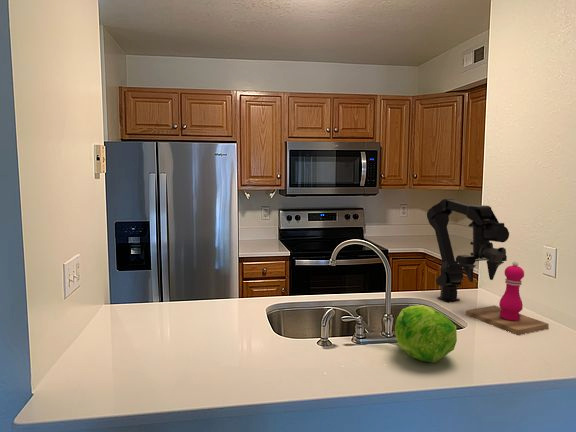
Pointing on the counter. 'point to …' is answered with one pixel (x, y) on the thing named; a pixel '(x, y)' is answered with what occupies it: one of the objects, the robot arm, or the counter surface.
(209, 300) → the counter surface
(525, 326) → the walnut board
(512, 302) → the pepper mill
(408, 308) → the lettuce
